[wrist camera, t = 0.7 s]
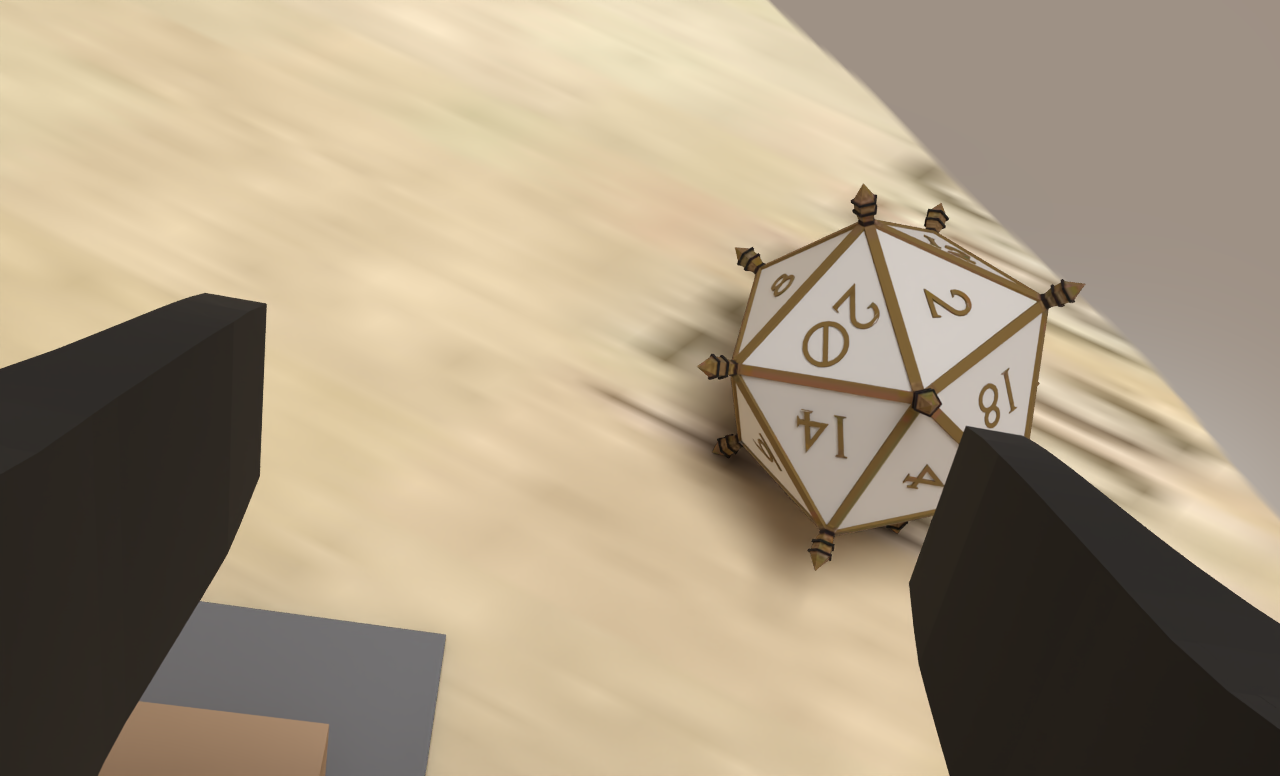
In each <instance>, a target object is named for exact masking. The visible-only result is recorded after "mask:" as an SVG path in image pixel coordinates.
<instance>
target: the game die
mask: <svg viewBox="0 0 1280 776" xmlns="http://www.w3.org/2000/svg"><path fill="white" fill-rule="evenodd" d="M876 201H877V195H874V194H873V193H872V192H871V191H870V190H869V189H868V188H867V187H866V186H865V185H864V184H863V185H862V186H861V188H860V190H859V191H858V193H857V195H856V197H855V198H854V199H852V200H851V203H852V204H854V209H853V210H852V211H853V213H854V214H856V215H857V217H858V219H859V220H858V222H856V223H854V224H852V225H850V226H848V227H846V228H843V229H841V230H839V231H837V232H835V233H832V234H830V235H828V236H826V237H824V238H822V239H819V240H817V241H815V242H813V243H811V244H809V245H806V246H804V247H802V248H800V249H798V250H795V251H793V252H791V253H789V254H787V255H785V256H782V257H780V258H778V259H776V260H774V261H771V262H769V263H767V264H765V263H763V262H762V261H761V259H760V254H759V253H758V254H756V253H755V252H754V248H753V247H751V248H750V249H748V248H736V247H735V250H736V254H737V259H738V263H737V265H740V266H743V267H744V270H745V271H751V272H754V274H755V278H754V282H753V286H752V289H751V293H750V296H749V300H748V304H747V307H746V311H745V314H744V318H743V321H742V325H741V329H740V332H739V336H738V339H737V343H736V346H735V350H734V354H733V357H732V360H728V359H726V358H725V357H724V356H723V355H720V357H716V356H715V355H714V354H711V356H710V358H708V359H707V360H706V361H704V362H703V363H701V364H700V365H698V366H697V367H698V368H699V369H700V370H701V371H703V372H704V373H705V374H706V375H707V376H708V379H709V380H711V379H714V378H717V377H718V379H723V378H726V377H728V375H729V376H731V384H732V392H733V401H734V409H735V417H736V426H737V434H736V435H733V434H731V435H726V436H725V437H723V438H718V439H717V441H718V442H717V444H716V446H715V448H714V450H713V452H712V453H716V454H720V455H725V456H726V457H727V458H730V455H731V454H733V453H734V454H737V452H738V450H739V449H740V448H741V447H744V448H745V449H746V450H747V451H748V452H749V453H750V454H751V455H752V456H753V457H754V458H755V460H756V461H757V462H758V463H759V464H760V465H761V466H762V467H763V468H764V469H765V470H766V472H767V473H768V474H769V475H770V476H771V477H772V478H773V479H774V480H775V481H776V482H777V484H778V485H779V486H780V487H781V488H782V489H783V490H784V491H785V492H786V493H787V495H788V496H789V497H790V498H791V499H792V500H793V501H794V502H795V503H796V504H797V505H798V507H799V508H800V509H801V510H802V511H803V512H804V513H805V514H806V515H807V516H808V517H809V519H810V520H811V521H812V522H813V523H814V524H815V525H816V526H817V527H818V528H819V529H820V534H819V535H818V536H817V537H816V539H812V541H811V542H813V545H812V547H811V549H808V552H810V554H811V558H812V562H813V565H814V569H815V571H816V570H817V569H818V568H819V567H821V566H822V565H823V564H824V563H826V562H827V561H828V560H829V561H831V557H832V554H831V551H834V544H833V539H834V537H835V536H838V535H843V534H848V533H853V532H858V531H862V530H867V529H872V528H877V527H882V526H886V528H891V529H892V530H893V531H894V532H896V533H897V534H898V532H899V531H900V530H901V529H902V528H903V527H904V526H905V525H906V524H908V521H911V520H916V519H920V518H925V517H930V516H933V515H934V513H935V510H936V507H937V504H938V502H939V499H940V496H941V493H942V490H943V488H944V485H945V482H946V479H947V477H948V474H949V471H950V468H951V465H952V463H953V460H954V457H955V454H956V452H957V449H958V446H959V443H960V440H961V438H962V435H963V432H964V429H965V427H966V426H971V427H976V428H982V429H988V430H993V431H999V432H1005V433H1011V434H1016V435H1022V436H1024V437H1026V438H1028V439H1030V433H1031V427H1032V420H1033V413H1034V406H1035V399H1036V392H1037V386H1038V385H1039V384H1040V383H1039V382H1038V378H1039V371H1040V364H1041V358H1042V351H1043V344H1044V337H1045V330H1046V323H1047V316H1048V309H1049V308H1051V307H1053V306H1058V307H1063V306H1065V305H1064V304H1065V303H1068V302H1069V303H1074V302H1075V300H1074V299H1075V298H1076V297H1077V295H1078V294H1079V292H1080V291H1081V289H1082V288H1083V287H1084V285H1085V284H1082V283H1074V282H1066V281H1064V280H1063V279H1062V280H1061V283H1059V284H1057V285H1055V286H1054V285H1051V289H1049V290H1048V291H1047V292H1046V293H1045V294H1039V293H1037V292H1036V291H1034V290H1032V289H1031V288H1029V287H1027V286H1026V285H1024V284H1022V283H1021V282H1019V281H1017V280H1016V279H1014V278H1012V277H1011V276H1009V275H1007V274H1006V273H1004V272H1002V271H1001V270H999V269H997V268H996V267H994V266H992V265H991V264H989V263H987V262H986V261H984V260H982V259H981V258H979V257H977V256H976V255H974V254H972V253H971V252H969V251H967V250H966V249H964V248H962V247H961V246H959V245H957V244H956V243H954V242H952V241H951V240H949V239H947V238H946V237H944V236H942V235H941V234H939V232H940V230H941V229H944V228H945V227H946V226H945V222H946V221H948V220H949V218H948V217H947V215H946V214H945V211H944V209H943V206H942V203H940V204H939V205H937V206H936V207H934V208H933V209H928V212H927V217H926V219H925V224H924V226H925V227H926V229H922V228H917V227H912V226H907V225H901V224H896V223H891V222H886V221H880V220H875V219H874V215H876V213H877V205H876Z"/></svg>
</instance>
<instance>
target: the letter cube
mask: <svg viewBox="0 0 1280 776" xmlns="http://www.w3.org/2000/svg"><path fill="white" fill-rule="evenodd" d="M328 734H329V724H324V723H316V722H308V721H299V720H291V719H283V718H274V717H266V716H258V715H249V714H241V713H233V712H224V711H216V710H208V709H199V708H191V707H183V706H174V705H166V704H158V703H149V702H141V701H139V702H138V703H137V705H136V707H135V708H134V710H133V712H132V713H131V715H130V717H129V718H128V720H127V721H126V723H125V725H124V727H123V729H122V731H121V732H120V734H119V736H118V738H117V740H116V742H115V743H114V745H113V747H112V749H111V751H110V753H109V754H108V756H107V758H106V760H105V762H104V764H103V766H102V768H101V770H100V772H99V775H98V776H325V773H326V760H327V747H328Z"/></svg>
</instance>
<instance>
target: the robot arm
mask: <svg viewBox="0 0 1280 776" xmlns="http://www.w3.org/2000/svg"><path fill="white" fill-rule="evenodd" d="M266 308H267V304H266V303H260V302H254V301H248V300H243V299H237V298H231V297H226V296H220V295H214V294H208V293H203V294H199V295H196V296H192V297H189V298H185V299H182V300H180V301H177V302H174V303H171V304H169V305H166V306H164V307H161V308H158V309H156V310H153V311H151V312H148V313H146V314H143V315H141V316H138V317H136V318H133V319H131V320H128V321H126V322H124V323H121V324H119V325H116V326H114V327H111V328H109V329H106V330H104V331H101V332H99V333H96V334H93V335H91V336H88V337H86V338H83V339H81V340H78V341H76V342H73V343H71V344H68V345H66V346H63V347H61V348H58V349H56V350H53V351H50V352H47V353H44V354H42V355H39V356H36V357H33V358H30V359H27V360H24V361H21V362H19V363H16V364H13V365H10V366H7V367H4V368H1V369H0V776H98V775H99V772H100V770H101V768H102V766H103V764H104V762H105V760H106V758H107V756H108V754H109V753H110V751H111V749H112V747H113V745H114V743H115V742H116V740H117V738H118V736H119V734H120V732H121V731H122V729H123V727H124V725H125V723H126V721H127V720H128V718H129V717H130V715H131V713H132V712H133V710H134V708H135V707H136V705H137V703H138V702H139V700H140V698H141V697H142V695H143V694H144V692H145V690H146V689H147V687H148V685H149V684H150V682H151V680H152V679H153V677H154V675H155V674H156V672H157V671H158V669H159V667H160V666H161V664H162V662H163V661H164V659H165V657H166V656H167V654H168V652H169V651H170V649H171V648H172V646H173V644H174V643H175V641H176V639H177V638H178V636H179V634H180V633H181V631H182V629H183V628H184V626H185V625H186V623H187V621H188V620H189V618H190V616H191V615H192V613H193V611H194V610H195V608H196V606H197V605H198V603H199V601H200V600H201V598H202V596H203V595H204V593H205V591H206V590H207V588H208V586H209V585H210V583H211V581H212V580H213V578H214V576H215V575H216V573H217V571H218V569H219V568H220V566H221V564H222V563H223V561H224V559H225V557H226V556H227V554H228V552H229V549H230V547H231V545H232V542H233V540H234V538H235V535H236V533H237V531H238V529H239V526H240V524H241V522H242V519H243V517H244V514H245V512H246V509H247V507H248V504H249V502H250V499H251V497H252V494H253V492H254V489H255V487H256V484H257V482H258V479H259V477H260V457H261V432H262V407H263V383H264V358H265V333H266ZM909 588H910V597H911V607H912V617H913V626H914V634H915V641H916V648H917V655H918V662H919V667H920V671H921V675H922V679H923V683H924V686H925V690H926V694H927V697H928V701H929V705H930V708H931V712H932V715H933V719H934V723H935V726H936V730H937V733H938V737H939V740H940V744H941V747H942V751H943V754H944V758H945V761H946V765H947V768H948V772H949V775H950V776H1280V624H1279V623H1278V622H1276V621H1275V620H1273V619H1272V618H1270V617H1269V616H1267V615H1266V614H1264V613H1263V612H1261V611H1260V610H1258V609H1257V608H1255V607H1254V606H1252V605H1251V604H1249V603H1248V602H1246V601H1245V600H1243V599H1242V598H1241V597H1239V596H1238V595H1236V594H1235V593H1234V592H1232V591H1231V590H1229V589H1228V588H1227V587H1225V586H1224V585H1222V584H1221V583H1220V582H1218V581H1217V580H1215V579H1214V578H1212V577H1211V576H1210V575H1208V574H1207V573H1205V572H1204V571H1203V570H1201V569H1200V568H1198V567H1197V566H1196V565H1194V564H1193V563H1192V562H1190V561H1189V560H1188V559H1186V558H1185V557H1184V556H1182V555H1181V554H1180V553H1178V552H1177V551H1176V550H1174V549H1173V548H1172V547H1170V546H1169V545H1168V544H1167V543H1165V542H1164V541H1163V540H1161V539H1160V538H1159V537H1157V536H1156V535H1155V534H1154V533H1152V532H1151V531H1150V530H1148V529H1147V528H1146V527H1145V526H1143V525H1142V524H1141V523H1140V522H1138V521H1137V520H1136V519H1134V518H1133V517H1132V516H1131V515H1129V514H1128V513H1127V512H1126V511H1124V510H1123V509H1122V508H1121V507H1119V506H1118V505H1117V504H1116V503H1114V502H1113V501H1112V500H1111V499H1109V498H1108V497H1107V496H1106V495H1104V494H1103V493H1102V492H1100V491H1099V490H1098V489H1097V488H1095V487H1094V486H1093V485H1092V484H1090V483H1089V482H1088V481H1087V480H1085V479H1084V478H1083V477H1082V476H1080V475H1079V474H1078V473H1076V472H1075V471H1074V470H1073V469H1071V468H1070V467H1069V466H1067V465H1066V464H1065V463H1063V462H1062V461H1061V460H1059V459H1058V458H1057V457H1055V456H1054V455H1053V454H1051V453H1050V452H1048V451H1047V450H1046V449H1044V448H1043V447H1041V446H1039V445H1038V444H1036V443H1035V442H1033V441H1031V440H1030V439H1028V438H1026V437H1024V436H1022V435H1016V434H1011V433H1005V432H999V431H993V430H988V429H982V428H976V427H971V426H966V427H965V429H964V432H963V435H962V438H961V440H960V443H959V446H958V449H957V452H956V454H955V457H954V460H953V463H952V465H951V468H950V471H949V474H948V477H947V479H946V482H945V485H944V488H943V490H942V493H941V496H940V499H939V502H938V504H937V507H936V510H935V513H934V515H933V518H932V521H931V524H930V527H929V529H928V532H927V535H926V538H925V540H924V543H923V546H922V549H921V552H920V554H919V557H918V560H917V563H916V565H915V568H914V571H913V574H912V577H911V579H910V582H909Z"/></svg>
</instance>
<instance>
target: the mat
mask: <svg viewBox="0 0 1280 776" xmlns="http://www.w3.org/2000/svg"><path fill="white" fill-rule="evenodd" d="M445 639H446V635H445V634H437V633H430V632H423V631H415V630H408V629H401V628H393V627H386V626H378V625H371V624H364V623H356V622H349V621H342V620H334V619H327V618H320V617H312V616H305V615H297V614H290V613H283V612H275V611H268V610H261V609H253V608H246V607H239V606H231V605H224V604H216V603H209V602H202V601H199V603H198V605H197V606H196V608H195V610H194V611H193V613H192V615H191V616H190V618H189V620H188V621H187V623H186V625H185V626H184V628H183V629H182V631H181V633H180V634H179V636H178V638H177V639H176V641H175V643H174V644H173V646H172V648H171V649H170V651H169V652H168V654H167V656H166V657H165V659H164V661H163V662H162V664H161V666H160V667H159V669H158V671H157V672H156V674H155V675H154V677H153V679H152V680H151V682H150V684H149V685H148V687H147V689H146V690H145V692H144V694H143V695H142V697H141V698H140V700H139V701H141V702H149V703H158V704H166V705H174V706H183V707H191V708H199V709H208V710H216V711H224V712H233V713H241V714H249V715H258V716H266V717H274V718H283V719H291V720H299V721H308V722H316V723H324V724H329V734H328V747H327V760H326V773H325V776H425V773H426V767H427V760H428V753H429V747H430V740H431V733H432V726H433V720H434V713H435V706H436V700H437V693H438V686H439V679H440V673H441V666H442V659H443V653H444V646H445Z"/></svg>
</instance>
